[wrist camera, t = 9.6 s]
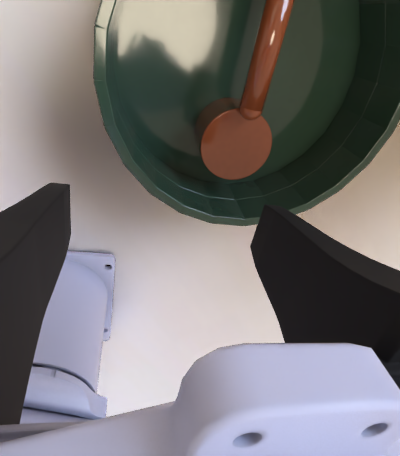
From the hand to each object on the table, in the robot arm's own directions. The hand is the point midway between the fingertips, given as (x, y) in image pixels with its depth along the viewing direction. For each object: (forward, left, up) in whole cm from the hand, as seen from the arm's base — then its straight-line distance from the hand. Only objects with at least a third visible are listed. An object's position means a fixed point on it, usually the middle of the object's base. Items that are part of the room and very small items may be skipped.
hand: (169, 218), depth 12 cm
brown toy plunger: (+5, -4, -9) cm, 11 cm away
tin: (+4, -4, -9) cm, 11 cm away
